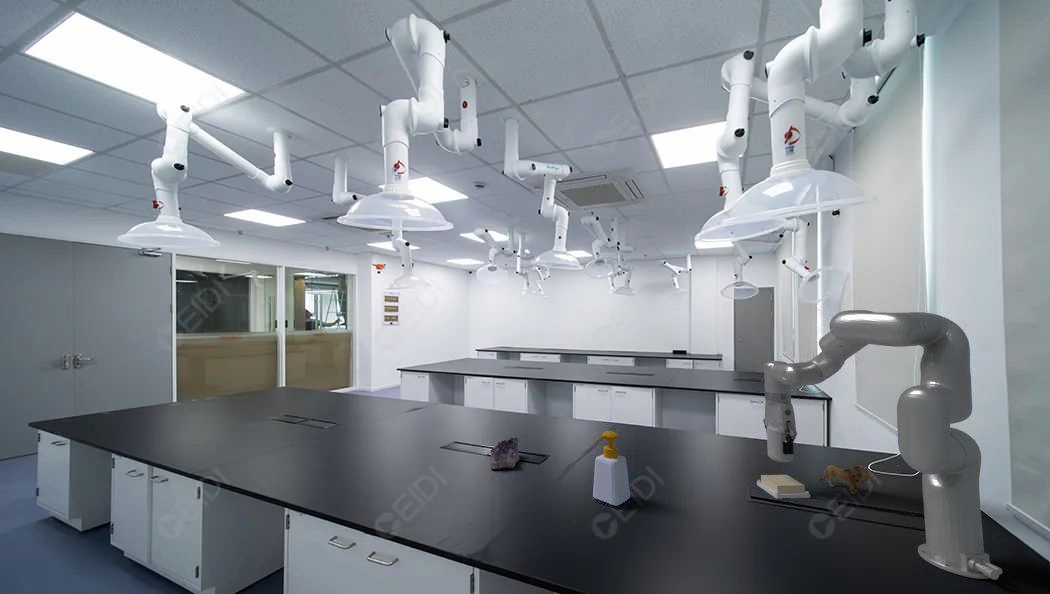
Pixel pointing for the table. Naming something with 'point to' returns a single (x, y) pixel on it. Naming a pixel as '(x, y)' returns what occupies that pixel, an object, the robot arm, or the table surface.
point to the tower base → (782, 486)
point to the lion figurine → (847, 476)
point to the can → (777, 445)
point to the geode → (505, 454)
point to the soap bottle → (611, 474)
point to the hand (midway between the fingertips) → (780, 449)
